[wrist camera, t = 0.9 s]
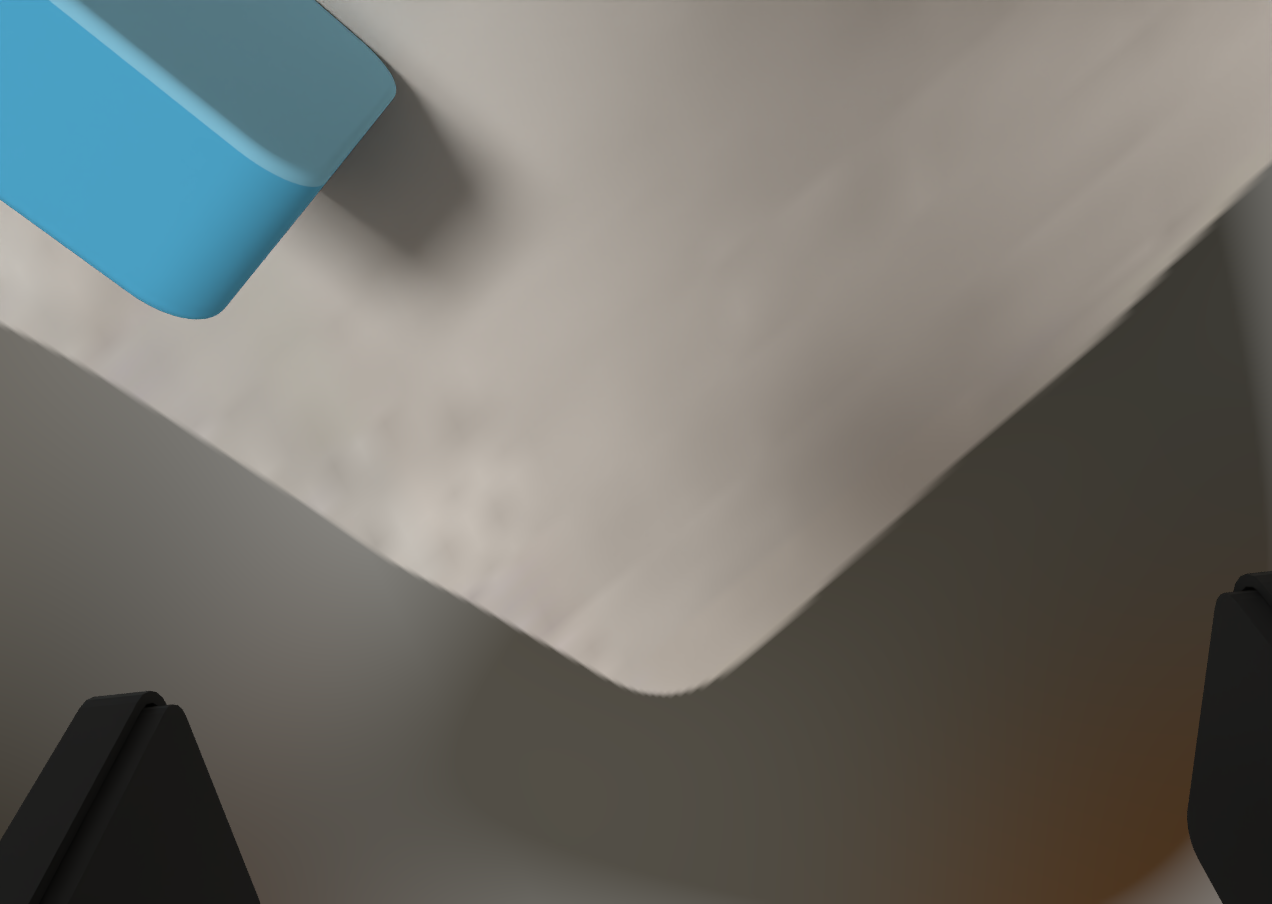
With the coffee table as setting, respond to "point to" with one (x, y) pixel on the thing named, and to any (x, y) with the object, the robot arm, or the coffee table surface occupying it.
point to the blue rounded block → (177, 132)
